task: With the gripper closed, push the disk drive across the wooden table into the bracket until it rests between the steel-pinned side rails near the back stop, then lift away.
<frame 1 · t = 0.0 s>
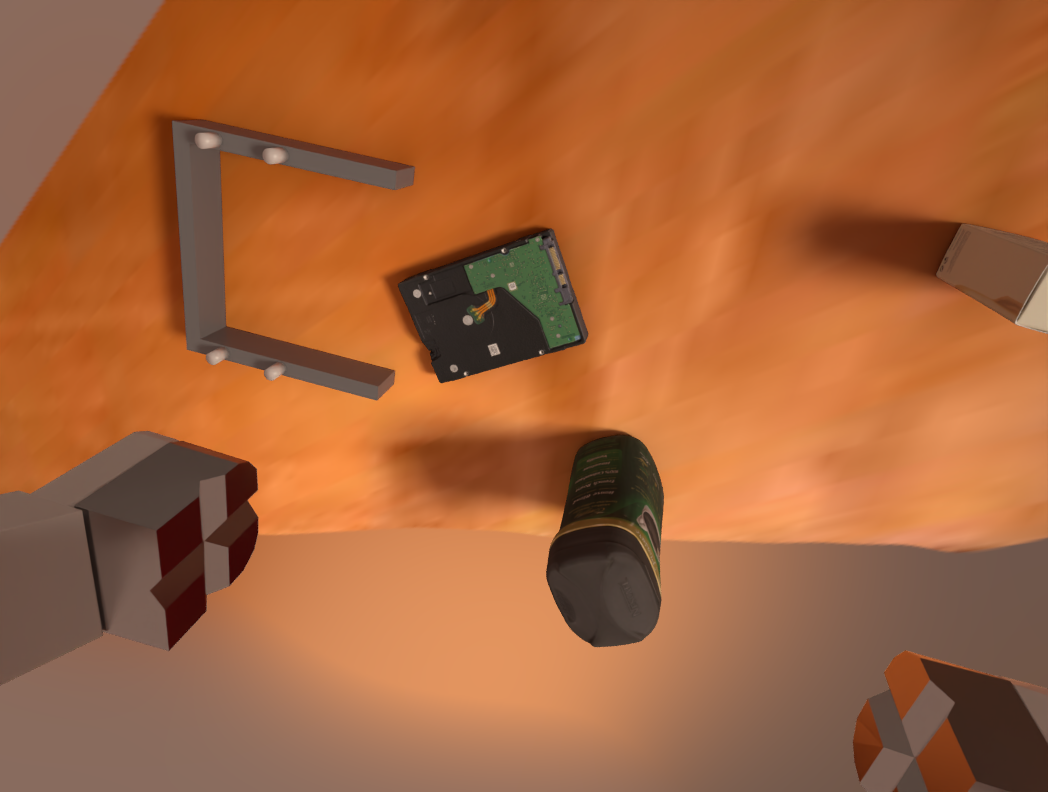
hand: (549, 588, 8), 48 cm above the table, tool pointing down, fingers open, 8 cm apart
coffee jar: (619, 474, 62), on the table
bracket: (304, 259, 60), on the table
disk drive: (498, 304, 58), on the table
skincare box: (988, 259, 48), on the table
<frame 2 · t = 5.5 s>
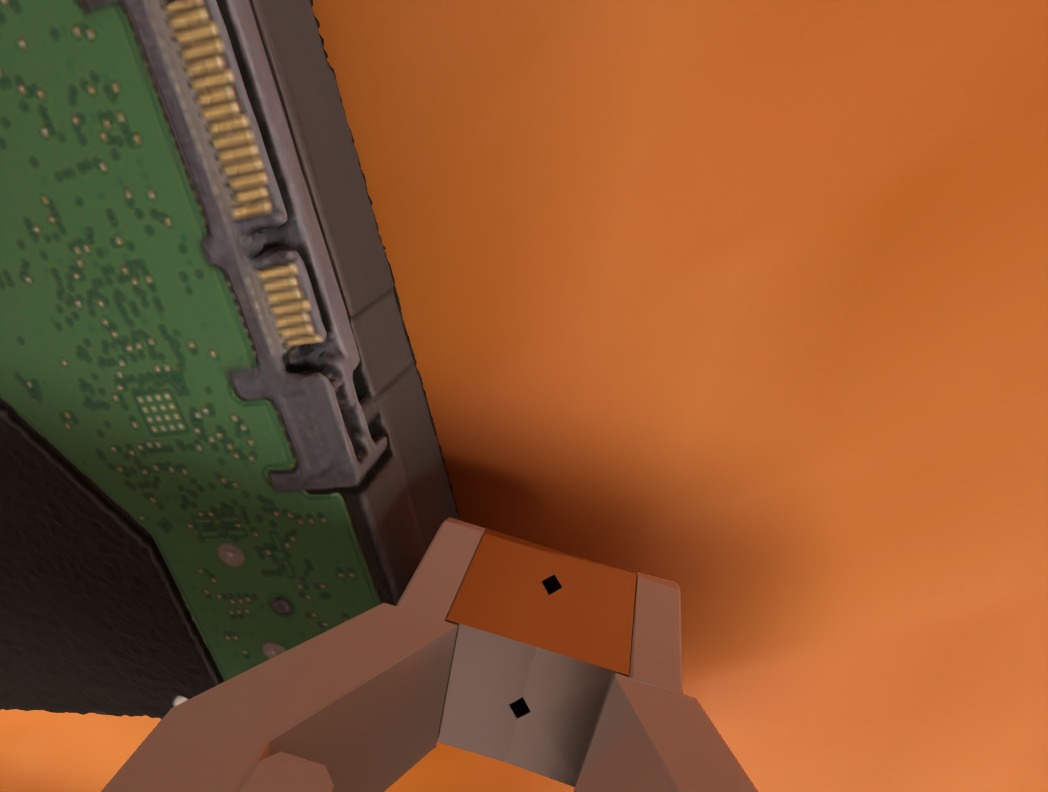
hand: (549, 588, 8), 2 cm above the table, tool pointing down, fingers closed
disk drive: (41, 369, 11), on the table, touching gripper
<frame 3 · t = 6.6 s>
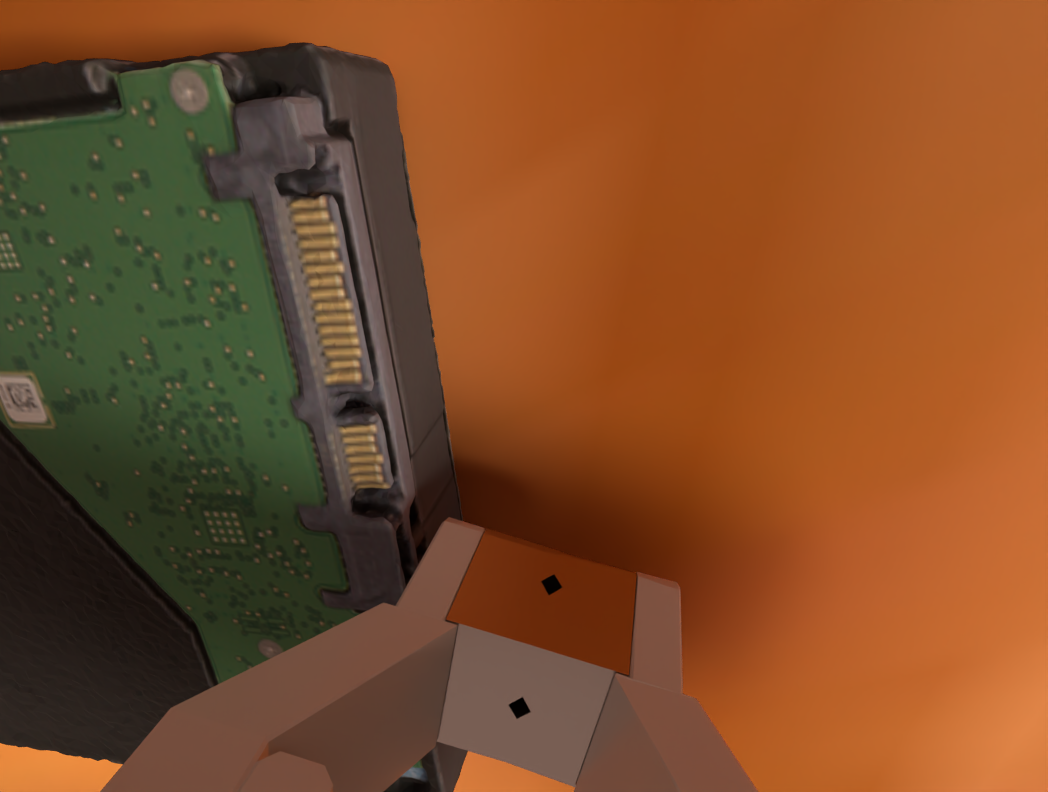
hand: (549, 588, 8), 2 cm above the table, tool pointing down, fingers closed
disk drive: (77, 419, 11), on the table, touching gripper
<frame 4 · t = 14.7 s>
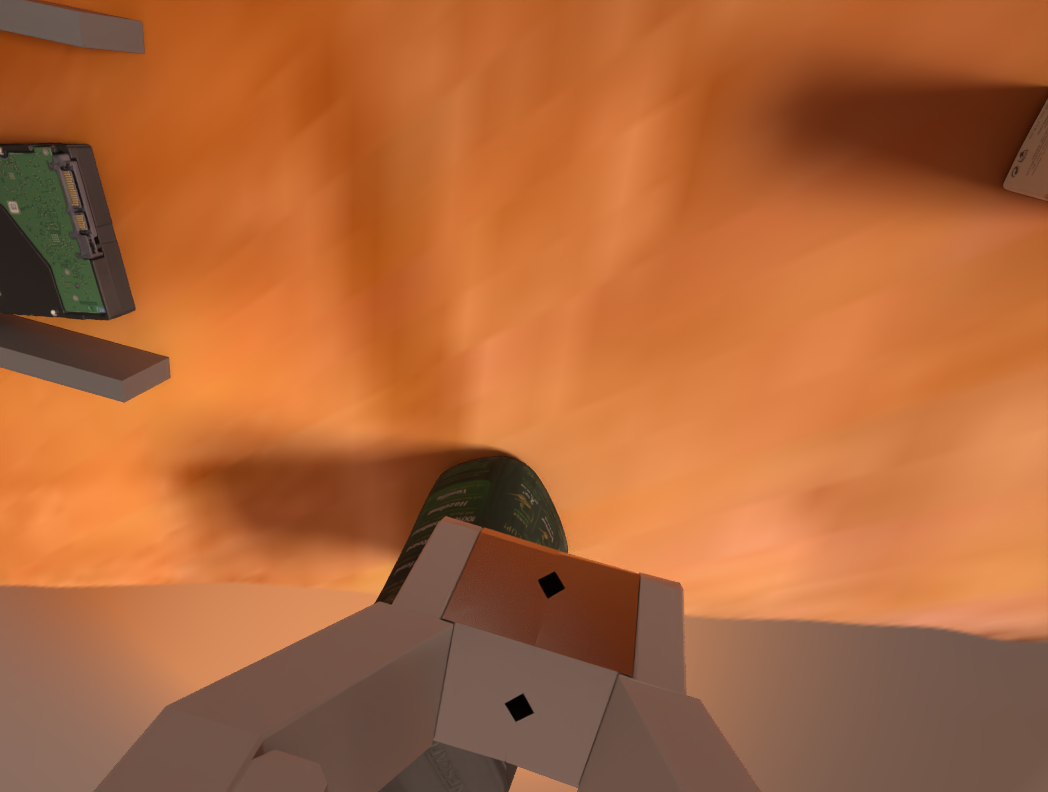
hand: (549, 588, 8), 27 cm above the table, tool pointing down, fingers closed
coffee jar: (504, 514, 42), on the table
bracket: (12, 185, 39), on the table
disk drive: (27, 226, 41), on the table
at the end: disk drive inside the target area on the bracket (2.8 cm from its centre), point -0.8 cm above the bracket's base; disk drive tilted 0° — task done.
